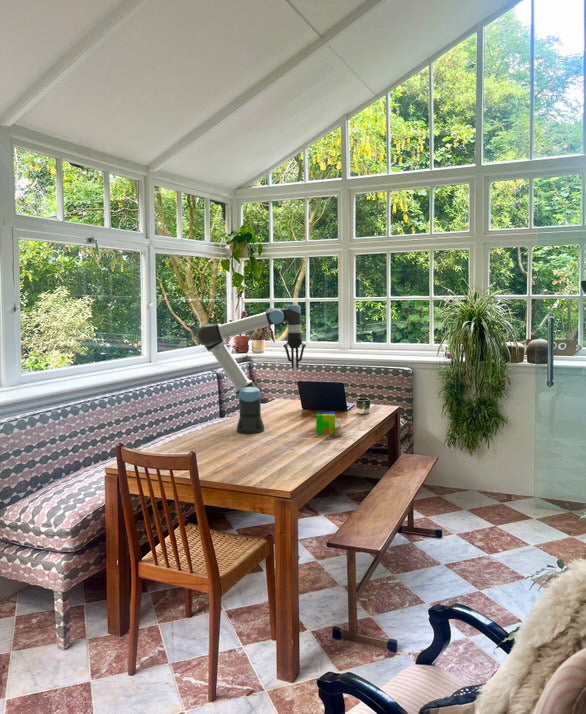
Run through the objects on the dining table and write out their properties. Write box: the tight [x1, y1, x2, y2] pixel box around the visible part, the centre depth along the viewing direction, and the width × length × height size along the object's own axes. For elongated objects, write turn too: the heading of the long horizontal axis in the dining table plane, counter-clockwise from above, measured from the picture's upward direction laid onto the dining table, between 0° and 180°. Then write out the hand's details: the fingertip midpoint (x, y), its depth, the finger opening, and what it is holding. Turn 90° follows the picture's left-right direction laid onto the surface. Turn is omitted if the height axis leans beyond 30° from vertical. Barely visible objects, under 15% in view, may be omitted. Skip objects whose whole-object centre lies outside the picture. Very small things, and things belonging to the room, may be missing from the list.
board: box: [334, 417, 342, 437], centre depth 337 cm, size 3×22×5 cm, turn 176°
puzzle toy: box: [315, 411, 336, 435], centre depth 338 cm, size 10×10×10 cm
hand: (295, 373), depth 354 cm, fingers closed
